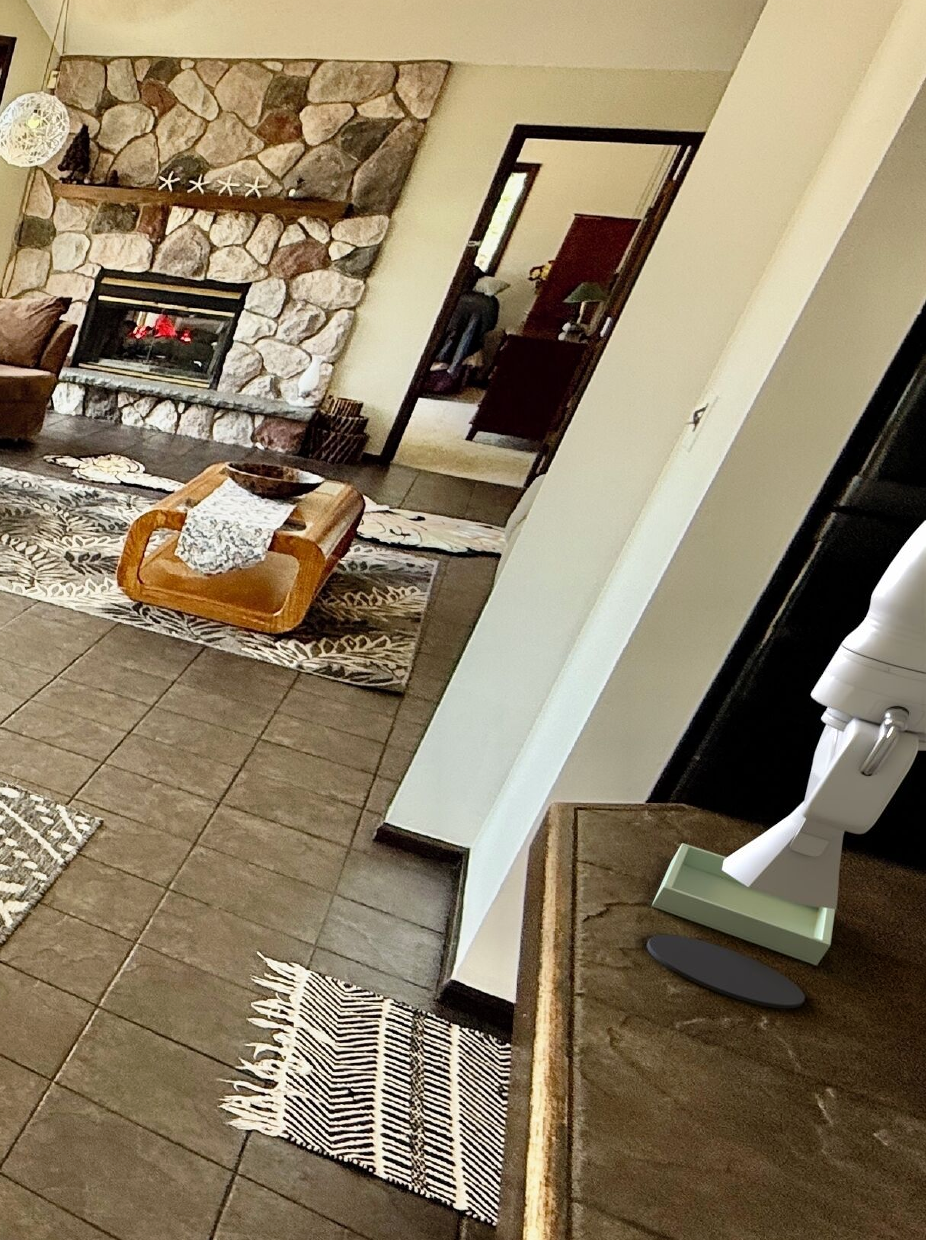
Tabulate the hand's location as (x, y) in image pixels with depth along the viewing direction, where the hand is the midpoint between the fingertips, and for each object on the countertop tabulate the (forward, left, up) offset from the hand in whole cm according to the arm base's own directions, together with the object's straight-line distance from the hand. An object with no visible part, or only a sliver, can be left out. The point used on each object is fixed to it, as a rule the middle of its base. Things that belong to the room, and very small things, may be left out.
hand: (805, 844), depth 96 cm
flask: (0, 0, -4) cm, 5 cm away
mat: (0, 0, -13) cm, 13 cm away
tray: (-7, -16, -13) cm, 22 cm away
